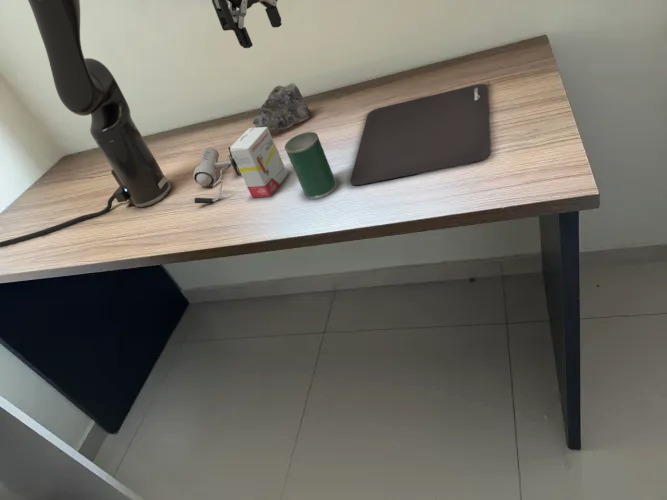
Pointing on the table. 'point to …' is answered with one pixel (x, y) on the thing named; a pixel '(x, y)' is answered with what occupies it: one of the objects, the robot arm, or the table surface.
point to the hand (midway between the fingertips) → (262, 36)
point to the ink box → (259, 161)
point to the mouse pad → (424, 135)
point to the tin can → (311, 165)
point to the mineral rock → (282, 109)
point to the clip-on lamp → (211, 171)
